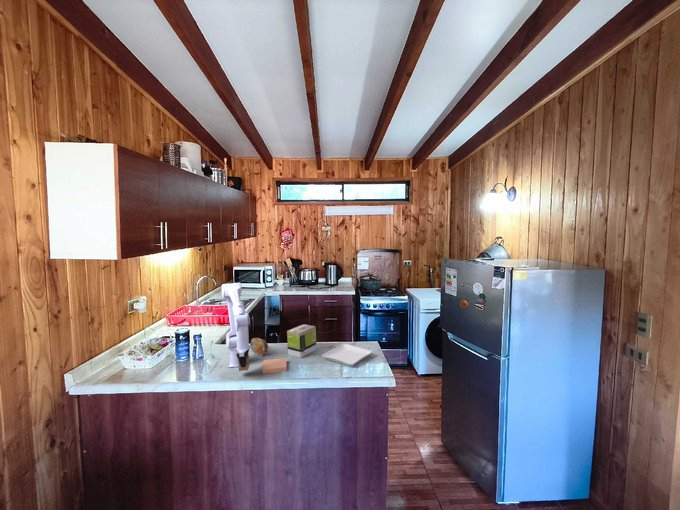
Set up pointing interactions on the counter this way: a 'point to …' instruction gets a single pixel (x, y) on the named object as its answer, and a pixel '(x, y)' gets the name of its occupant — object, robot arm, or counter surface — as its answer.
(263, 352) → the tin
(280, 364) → the terracotta trivet
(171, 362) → the counter surface
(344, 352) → the salad plate
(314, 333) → the tea box
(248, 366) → the walnut block
